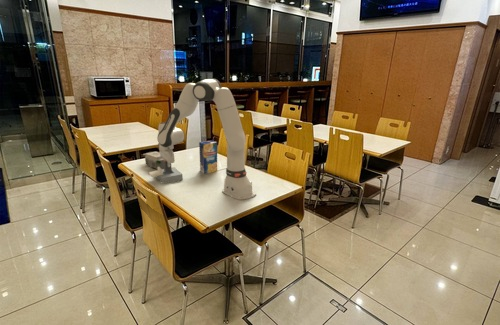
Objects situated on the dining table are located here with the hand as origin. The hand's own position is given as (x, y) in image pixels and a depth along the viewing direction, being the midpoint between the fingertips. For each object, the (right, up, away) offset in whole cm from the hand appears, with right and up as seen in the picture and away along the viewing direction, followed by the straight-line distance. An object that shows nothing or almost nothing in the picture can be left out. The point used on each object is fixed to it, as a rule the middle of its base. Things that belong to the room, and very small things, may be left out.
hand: (167, 165), depth 190 cm
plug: (0, -4, +1) cm, 4 cm away
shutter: (-7, -6, -3) cm, 10 cm away
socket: (0, -8, +3) cm, 9 cm away
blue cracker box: (+25, -4, +18) cm, 32 cm away
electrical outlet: (-16, -1, +25) cm, 29 cm away
